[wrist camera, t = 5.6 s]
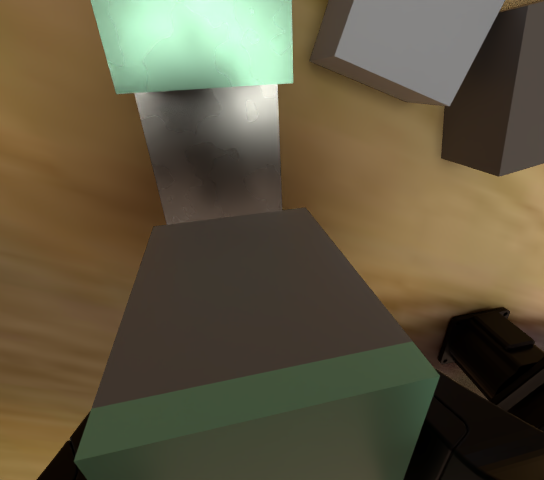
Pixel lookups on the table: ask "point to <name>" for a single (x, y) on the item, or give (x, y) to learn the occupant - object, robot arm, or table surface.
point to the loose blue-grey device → (405, 44)
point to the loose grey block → (501, 98)
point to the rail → (204, 97)
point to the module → (255, 363)
